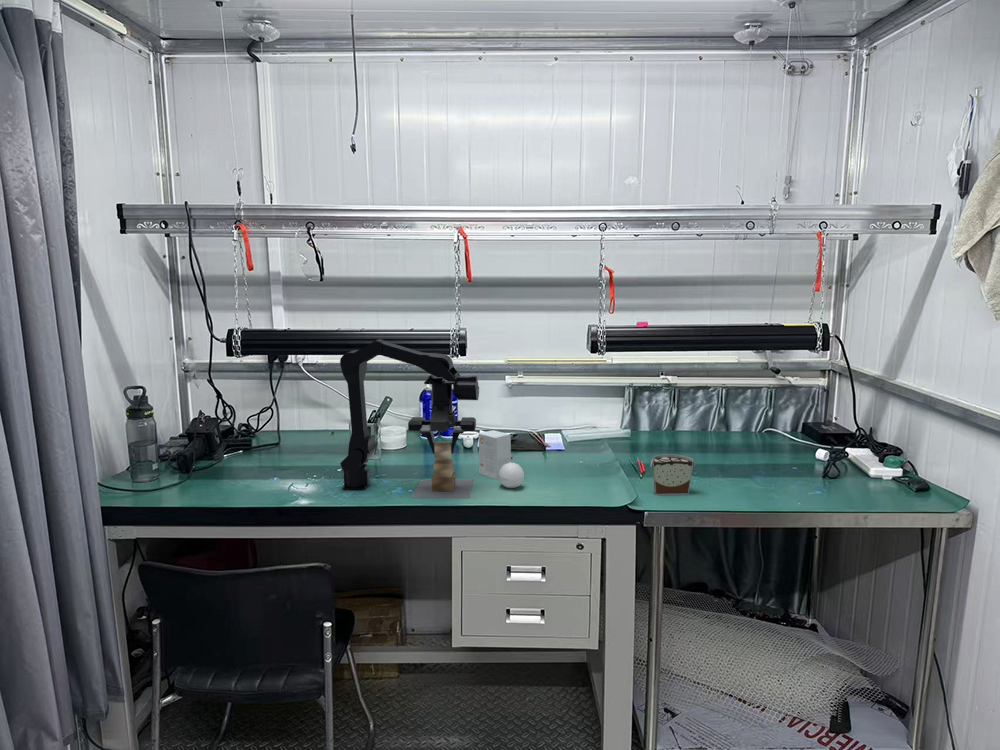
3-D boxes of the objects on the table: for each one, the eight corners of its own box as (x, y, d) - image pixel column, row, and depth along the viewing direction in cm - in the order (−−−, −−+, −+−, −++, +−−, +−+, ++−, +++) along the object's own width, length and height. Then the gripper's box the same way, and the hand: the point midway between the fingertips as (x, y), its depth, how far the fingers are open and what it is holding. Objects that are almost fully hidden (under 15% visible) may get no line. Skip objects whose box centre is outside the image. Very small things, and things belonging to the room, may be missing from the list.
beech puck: (433, 459, 178) (432, 445, 177) (435, 454, 183) (435, 441, 182) (450, 459, 178) (450, 445, 177) (453, 454, 183) (452, 441, 182)
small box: (511, 475, 194) (511, 434, 192) (496, 480, 190) (496, 437, 188) (493, 469, 200) (493, 429, 198) (478, 474, 196) (477, 433, 194)
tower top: (433, 477, 179) (433, 463, 178) (436, 472, 184) (435, 458, 183) (451, 477, 178) (451, 464, 178) (453, 472, 183) (453, 458, 183)
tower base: (432, 491, 179) (431, 478, 178) (435, 484, 185) (434, 471, 184) (453, 491, 178) (452, 478, 178) (455, 485, 184) (455, 471, 184)
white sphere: (523, 483, 186) (523, 459, 185) (524, 491, 179) (524, 466, 178) (489, 483, 187) (489, 459, 185) (489, 491, 179) (488, 466, 178)
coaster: (411, 498, 174) (411, 497, 174) (420, 480, 190) (420, 479, 190) (469, 499, 173) (469, 498, 173) (474, 480, 189) (474, 479, 189)
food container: (687, 487, 182) (688, 453, 181) (694, 494, 176) (695, 459, 175) (644, 487, 182) (645, 453, 180) (650, 494, 176) (651, 460, 174)
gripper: (403, 405, 170) (405, 461, 172) (472, 405, 169) (473, 461, 172) (411, 397, 181) (412, 450, 183) (476, 397, 180) (476, 450, 183)
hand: (443, 453), depth 180 cm, fingers closed on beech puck, 5 cm apart
